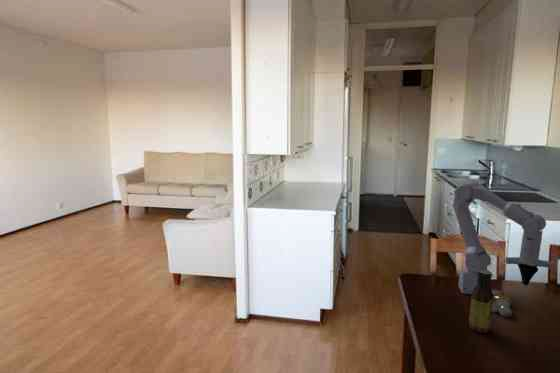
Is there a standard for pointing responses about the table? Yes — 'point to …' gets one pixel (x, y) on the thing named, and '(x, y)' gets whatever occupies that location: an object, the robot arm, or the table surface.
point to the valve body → (500, 305)
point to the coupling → (503, 298)
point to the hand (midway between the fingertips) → (524, 283)
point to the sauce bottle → (481, 303)
